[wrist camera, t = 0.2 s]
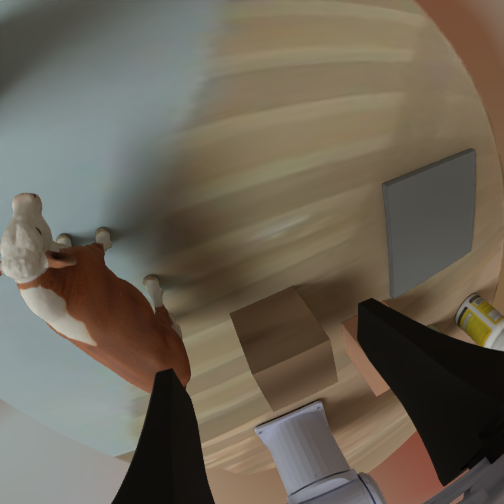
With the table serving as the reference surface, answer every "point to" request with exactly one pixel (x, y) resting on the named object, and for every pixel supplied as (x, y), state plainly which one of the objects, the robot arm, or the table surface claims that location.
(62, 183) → the table surface
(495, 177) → the table surface
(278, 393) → the walnut block
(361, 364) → the terracotta brick
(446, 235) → the slate mat
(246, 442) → the table surface
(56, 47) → the table surface
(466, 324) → the supplement bottle
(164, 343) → the bull figurine
